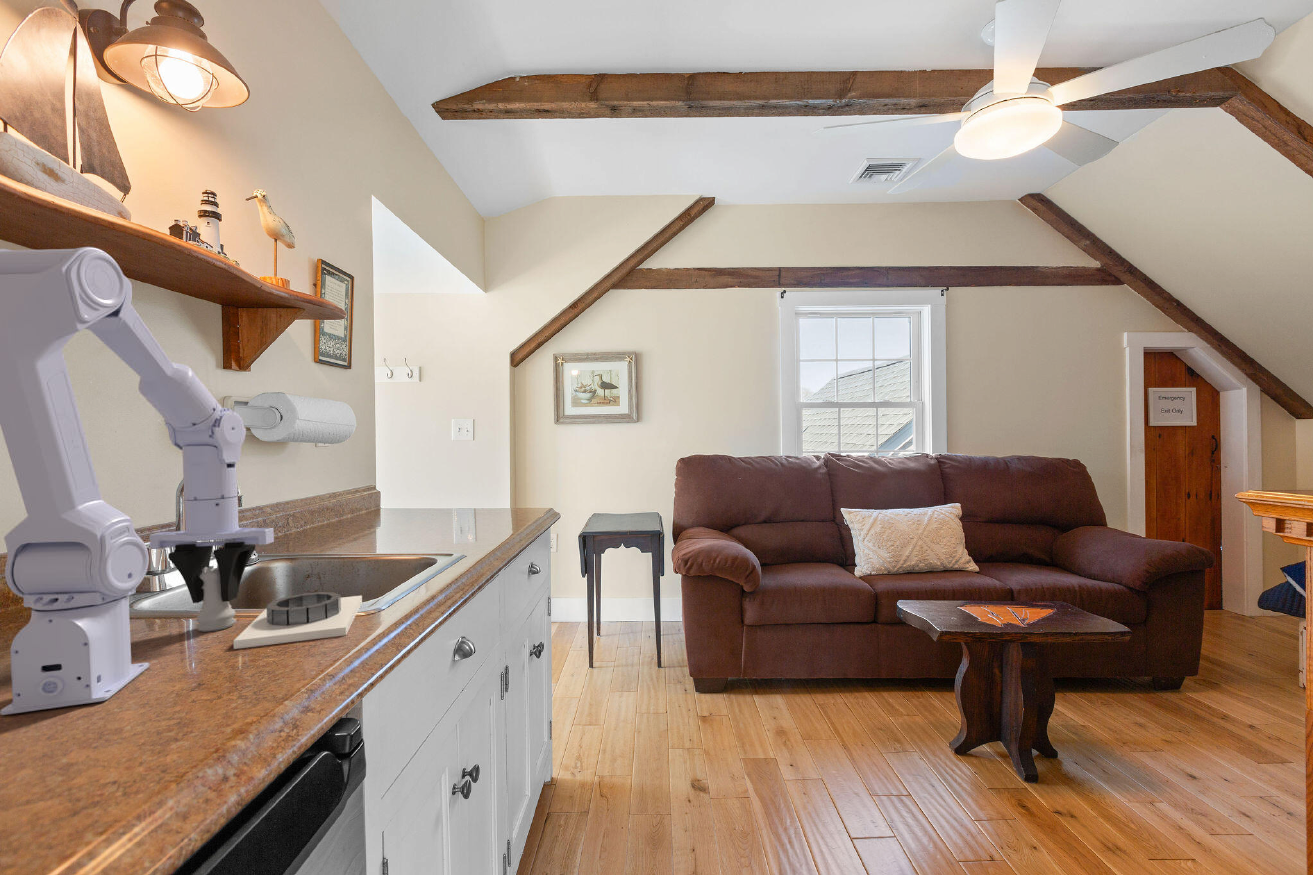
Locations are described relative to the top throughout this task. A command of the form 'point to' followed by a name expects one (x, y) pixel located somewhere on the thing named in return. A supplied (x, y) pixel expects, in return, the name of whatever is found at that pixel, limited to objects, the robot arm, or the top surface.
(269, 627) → the mount plate
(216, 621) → the rook chess piece
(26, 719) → the top surface
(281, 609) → the segmented grey ring
